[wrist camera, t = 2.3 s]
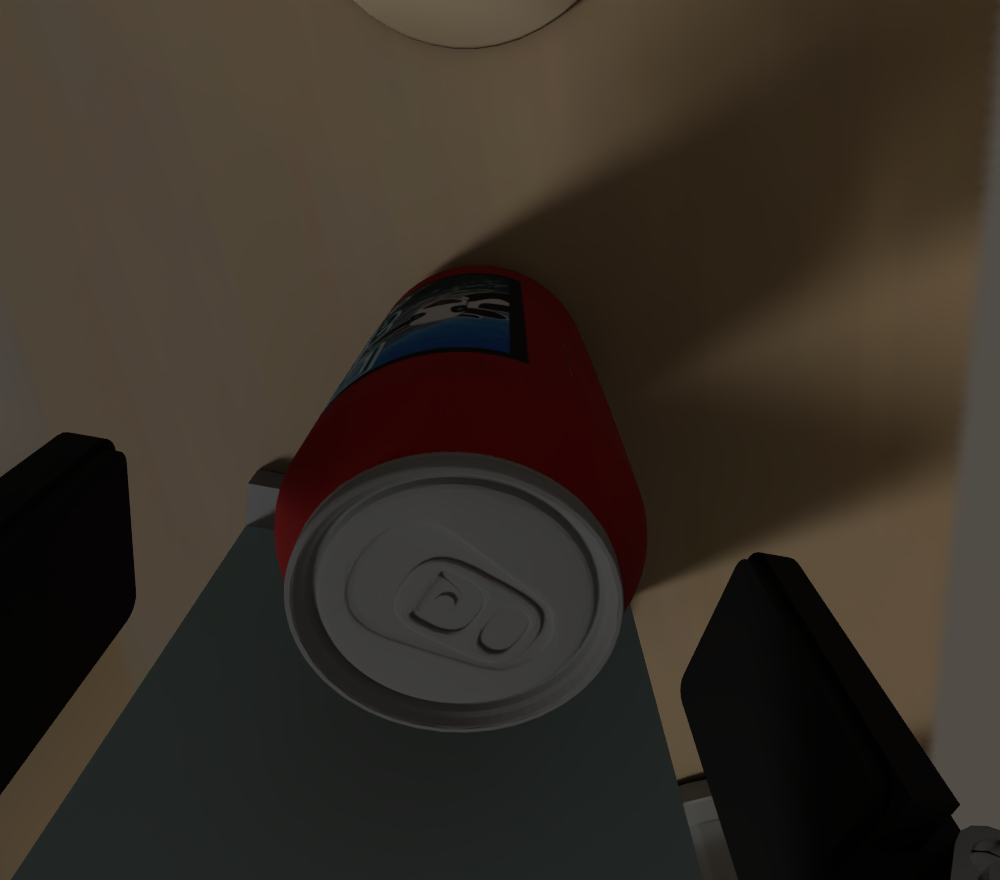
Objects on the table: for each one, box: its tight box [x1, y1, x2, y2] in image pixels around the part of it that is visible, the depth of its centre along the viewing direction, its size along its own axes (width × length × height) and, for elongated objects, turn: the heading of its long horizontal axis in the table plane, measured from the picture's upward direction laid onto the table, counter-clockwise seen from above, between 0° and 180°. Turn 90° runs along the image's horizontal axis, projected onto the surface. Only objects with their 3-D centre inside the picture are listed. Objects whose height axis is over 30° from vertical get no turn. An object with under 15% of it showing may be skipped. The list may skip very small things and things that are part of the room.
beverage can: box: [274, 266, 647, 732], centre depth 15 cm, size 7×7×12 cm
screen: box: [11, 469, 703, 880], centre depth 18 cm, size 5×14×14 cm, turn 78°
